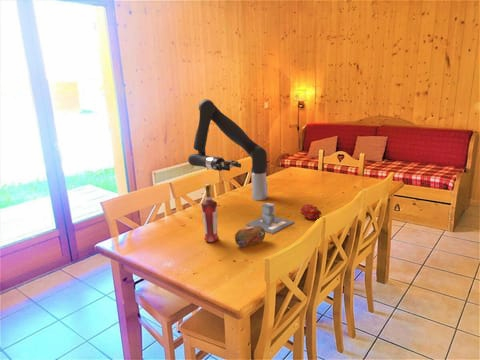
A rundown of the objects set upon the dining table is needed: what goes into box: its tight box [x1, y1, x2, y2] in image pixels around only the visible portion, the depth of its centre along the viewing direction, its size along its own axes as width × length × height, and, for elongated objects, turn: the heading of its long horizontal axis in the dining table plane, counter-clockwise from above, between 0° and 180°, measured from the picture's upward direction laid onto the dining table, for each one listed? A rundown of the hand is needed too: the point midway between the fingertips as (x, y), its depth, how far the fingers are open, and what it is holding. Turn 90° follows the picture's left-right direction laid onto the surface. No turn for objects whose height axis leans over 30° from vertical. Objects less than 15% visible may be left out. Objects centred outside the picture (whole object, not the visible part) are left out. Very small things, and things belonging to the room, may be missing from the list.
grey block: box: [261, 202, 275, 225], centre depth 193 cm, size 4×4×10 cm
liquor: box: [201, 183, 219, 243], centre depth 174 cm, size 7×7×28 cm
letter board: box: [245, 215, 295, 235], centre depth 194 cm, size 18×18×1 cm
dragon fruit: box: [300, 203, 323, 221], centre depth 198 cm, size 8×8×12 cm
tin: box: [234, 225, 266, 248], centre depth 171 cm, size 15×3×8 cm, turn 117°
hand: (235, 167), depth 200 cm, fingers open, 8 cm apart
